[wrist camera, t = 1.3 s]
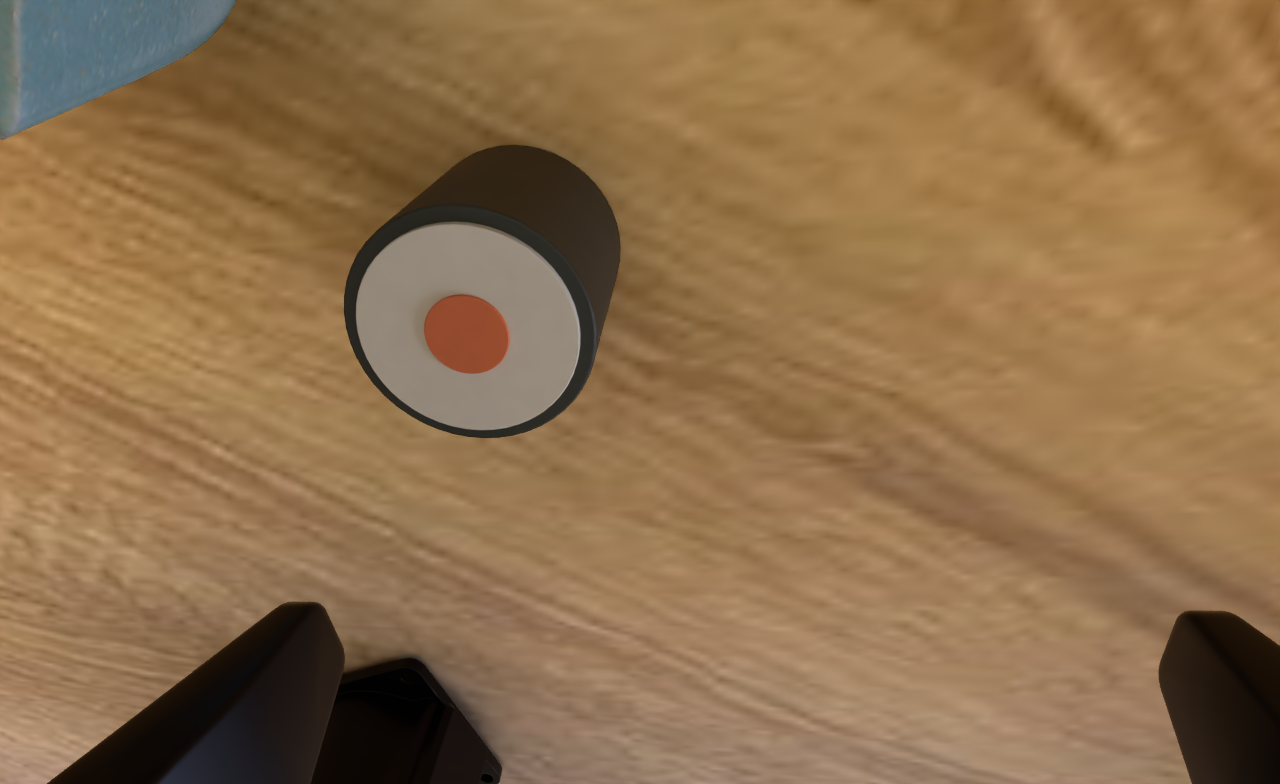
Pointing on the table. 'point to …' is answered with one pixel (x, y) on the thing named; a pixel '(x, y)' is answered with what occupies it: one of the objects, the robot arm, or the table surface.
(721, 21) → the table surface
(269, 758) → the robot arm
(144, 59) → the flower pot
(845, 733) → the table surface
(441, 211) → the sushi
